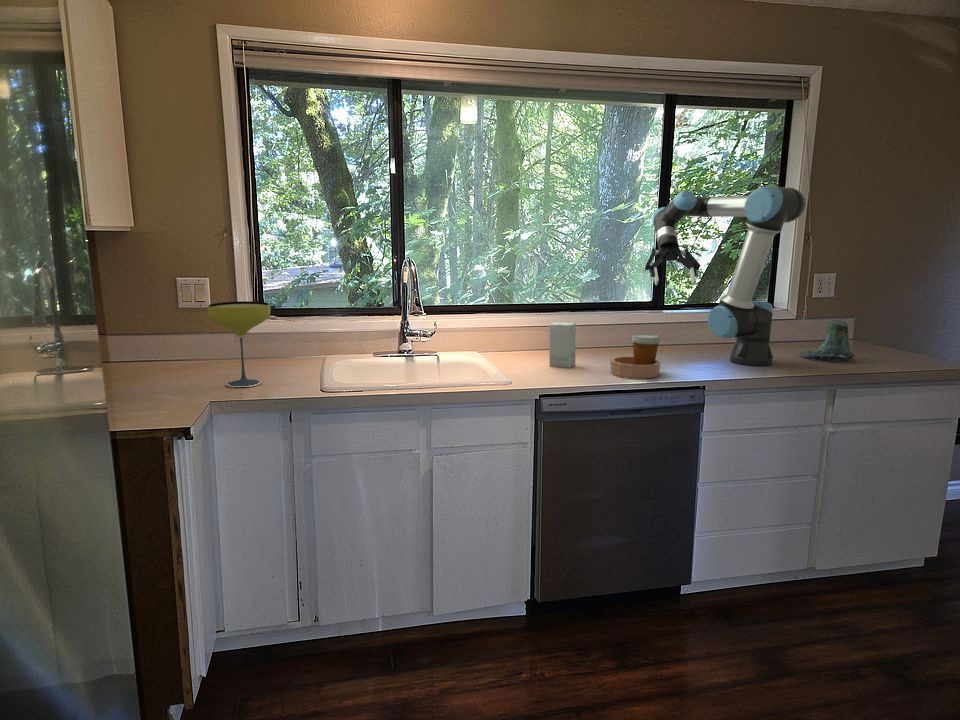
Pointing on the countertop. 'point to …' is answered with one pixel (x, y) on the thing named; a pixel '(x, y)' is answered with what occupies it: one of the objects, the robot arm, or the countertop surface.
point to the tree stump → (833, 344)
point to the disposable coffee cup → (645, 348)
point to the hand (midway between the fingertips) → (675, 283)
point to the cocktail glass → (239, 324)
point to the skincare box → (562, 344)
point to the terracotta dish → (633, 368)
